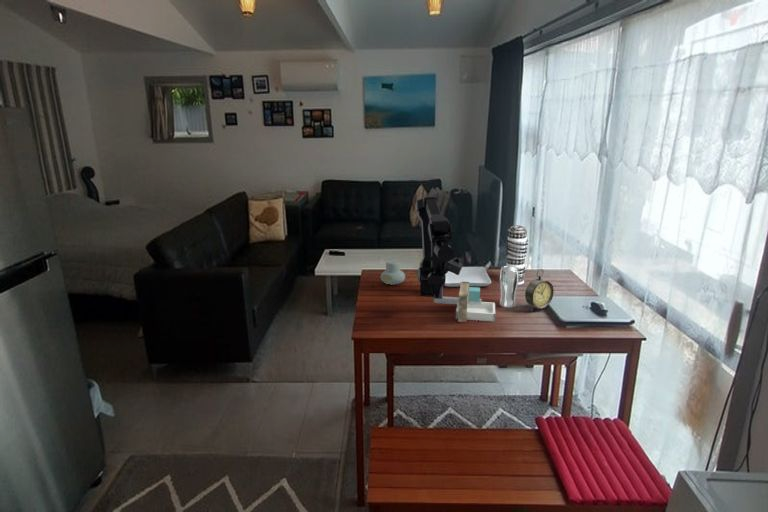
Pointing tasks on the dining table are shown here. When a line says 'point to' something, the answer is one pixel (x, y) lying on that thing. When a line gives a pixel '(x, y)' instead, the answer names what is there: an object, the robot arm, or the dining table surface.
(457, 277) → the salad plate
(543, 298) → the alarm clock
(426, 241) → the robot arm
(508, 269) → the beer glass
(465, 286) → the guide frame
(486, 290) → the dining table surface
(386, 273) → the air freshener
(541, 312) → the dining table surface
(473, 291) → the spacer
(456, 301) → the grey l-shaped block
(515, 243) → the decorative candle
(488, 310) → the tray
